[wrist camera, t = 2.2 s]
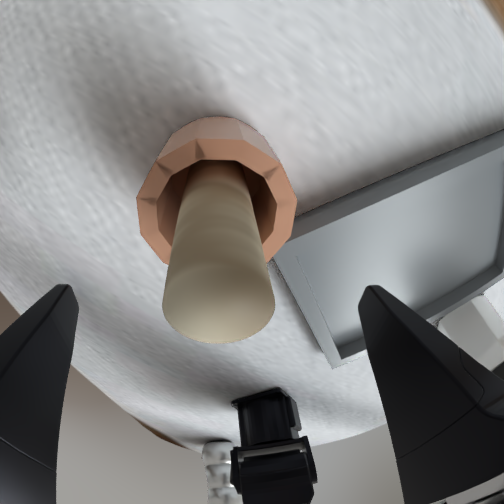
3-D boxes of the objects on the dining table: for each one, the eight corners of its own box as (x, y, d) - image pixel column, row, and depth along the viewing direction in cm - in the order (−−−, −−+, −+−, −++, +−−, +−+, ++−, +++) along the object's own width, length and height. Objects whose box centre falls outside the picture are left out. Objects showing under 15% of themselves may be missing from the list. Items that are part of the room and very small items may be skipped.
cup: (195, 238, 18) (190, 295, 14) (137, 153, 14) (108, 191, 10) (290, 194, 17) (314, 242, 13) (243, 96, 13) (256, 108, 9)
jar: (439, 309, 27) (489, 397, 17) (489, 282, 26) (541, 356, 16) (429, 348, 32) (464, 422, 22) (473, 324, 31) (511, 389, 21)
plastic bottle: (219, 435, 40) (230, 544, 24) (246, 441, 44) (259, 539, 28) (193, 442, 42) (200, 542, 26) (219, 448, 46) (228, 540, 30)
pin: (205, 209, 16) (200, 353, 9) (177, 166, 15) (139, 294, 7) (253, 186, 16) (290, 321, 8) (228, 139, 14) (245, 247, 6)
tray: (326, 353, 28) (332, 369, 26) (264, 231, 18) (269, 250, 17) (497, 264, 24) (506, 275, 22) (509, 127, 14) (526, 135, 13)
